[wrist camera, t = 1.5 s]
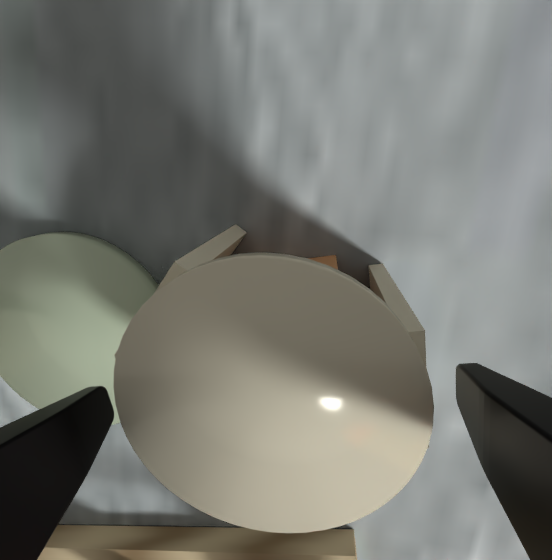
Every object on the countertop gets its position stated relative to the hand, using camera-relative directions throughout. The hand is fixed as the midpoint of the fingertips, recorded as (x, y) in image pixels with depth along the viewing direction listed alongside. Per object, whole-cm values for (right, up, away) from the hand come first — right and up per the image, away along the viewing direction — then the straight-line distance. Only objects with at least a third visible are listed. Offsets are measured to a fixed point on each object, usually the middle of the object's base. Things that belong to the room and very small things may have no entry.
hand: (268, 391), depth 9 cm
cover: (+1, +2, +5) cm, 5 cm away
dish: (-8, +1, +6) cm, 10 cm away
